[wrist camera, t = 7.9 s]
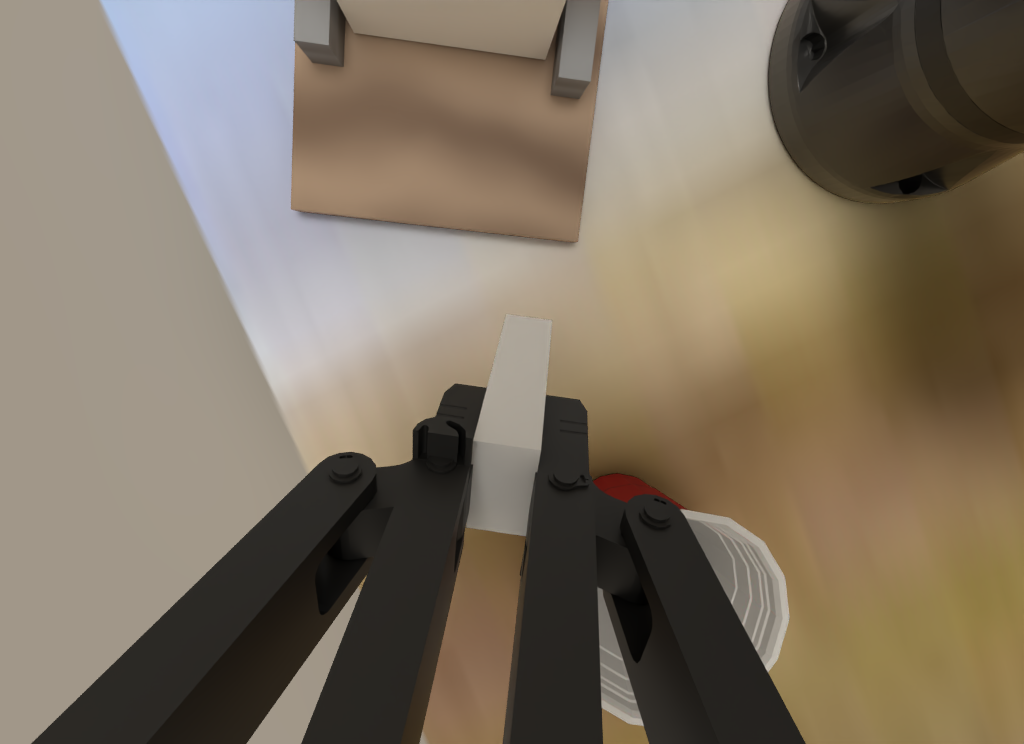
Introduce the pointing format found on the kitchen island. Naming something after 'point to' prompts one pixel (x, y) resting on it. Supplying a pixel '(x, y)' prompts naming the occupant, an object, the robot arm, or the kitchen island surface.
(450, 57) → the housing
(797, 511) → the kitchen island surface
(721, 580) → the plastic cup
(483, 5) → the cream rectangular block
